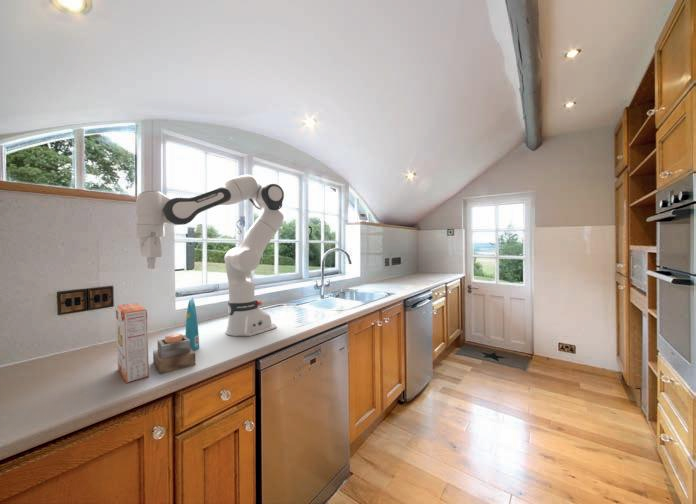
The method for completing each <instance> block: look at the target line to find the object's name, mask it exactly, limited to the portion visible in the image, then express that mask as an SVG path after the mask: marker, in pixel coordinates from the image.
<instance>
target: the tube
mask: <svg viewBox="0 0 696 504" xmlns="http://www.w3.org/2000/svg"><path fill="white" fill-rule="evenodd" d="M195 303H196V302H195V300H194V297H192V298H191V299H190V300H189V301H188V304H187V310H186V318H185V334H184V335H185V336H186V337H187V338H188V339H189V340H190V348H191V349H192V350H193V351H196V350H197V349H199V348H200V336H199V335H200V334H199V324H198V316H197V314H198V313H197V309H196V304H195Z"/></svg>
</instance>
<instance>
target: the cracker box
mask: <svg viewBox="0 0 696 504" xmlns="http://www.w3.org/2000/svg"><path fill="white" fill-rule="evenodd" d="M115 320H116V323H115V324H116V344H117V345H116V348H117V352H116V353H117V369H118V371H119V373H120V374H121V376H122V377H123V379H124V381H125V383H126V384H127V383H133V382H135V381H138V380H141V379H145V378H148V377H149V376H150V371H149V370H150V365H149V361H150V360H149V337H148V335H149V333H148V332H149V331H148V310H147V309H146V308H145V307H143V306H142V305H140V304H139V303H126V304H120V305H119V304H118V305H116V306H115Z"/></svg>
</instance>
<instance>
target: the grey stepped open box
mask: <svg viewBox="0 0 696 504" xmlns="http://www.w3.org/2000/svg"><path fill="white" fill-rule="evenodd" d="M152 356H153V358H152V361H153V364H154V366H155V369H156V370H157V371H158V373H159V375H162V374H166V373H169V372H174V371H177V370H180V369H184V368H188V367H192V366H195V365H196V352H195V350H192V349H191V348H190V340H189V339H188V338H187V337H186V336H185V334H182V341H180V342H175V343H170V344H165V338H161V339H157V350H156V349H155V350H153V351H152Z"/></svg>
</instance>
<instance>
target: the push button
mask: <svg viewBox="0 0 696 504" xmlns="http://www.w3.org/2000/svg"><path fill="white" fill-rule="evenodd" d="M182 335H183V334H182V333H171V334H168V335H165V337H164V339H165V344H170V343H175V342H180V341H182Z"/></svg>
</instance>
